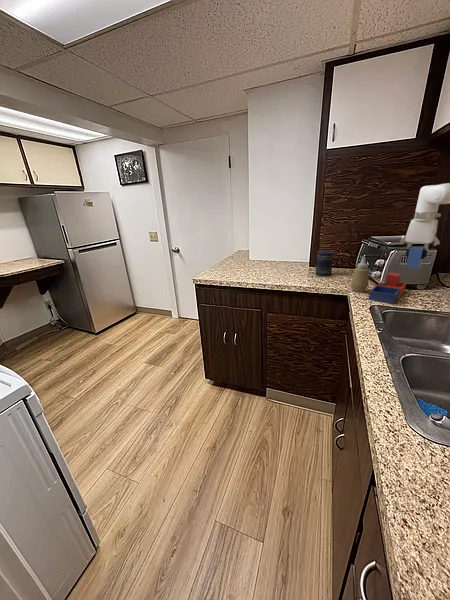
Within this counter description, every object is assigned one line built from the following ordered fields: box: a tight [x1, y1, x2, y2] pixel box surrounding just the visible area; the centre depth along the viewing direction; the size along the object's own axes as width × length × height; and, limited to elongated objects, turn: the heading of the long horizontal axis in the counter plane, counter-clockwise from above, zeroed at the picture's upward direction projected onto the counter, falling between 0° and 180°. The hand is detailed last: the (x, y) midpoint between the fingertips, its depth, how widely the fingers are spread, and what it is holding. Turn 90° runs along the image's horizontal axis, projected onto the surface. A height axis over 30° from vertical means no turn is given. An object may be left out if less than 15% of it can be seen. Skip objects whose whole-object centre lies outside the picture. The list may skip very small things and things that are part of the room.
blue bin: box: [368, 284, 400, 305], centre depth 119 cm, size 10×10×4 cm
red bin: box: [377, 281, 407, 298], centre depth 127 cm, size 10×10×4 cm
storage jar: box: [315, 249, 335, 277], centre depth 160 cm, size 10×10×15 cm
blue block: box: [405, 246, 425, 270], centre depth 114 cm, size 5×5×9 cm
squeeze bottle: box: [350, 256, 370, 293], centre depth 128 cm, size 8×8×18 cm
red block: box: [385, 272, 402, 287], centre depth 126 cm, size 5×5×9 cm
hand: (415, 257), depth 114 cm, fingers closed on blue block, 4 cm apart
